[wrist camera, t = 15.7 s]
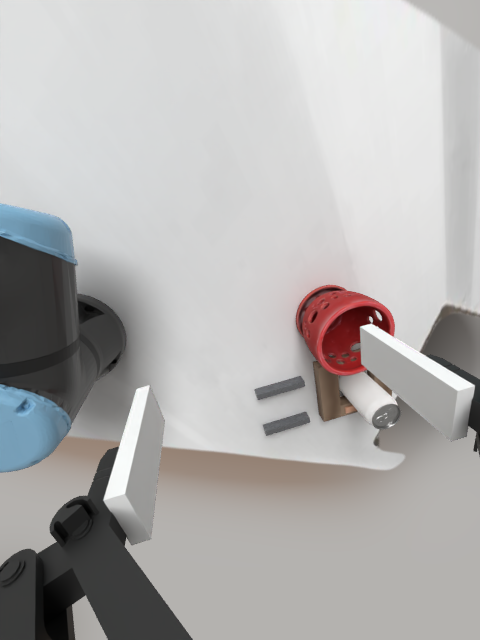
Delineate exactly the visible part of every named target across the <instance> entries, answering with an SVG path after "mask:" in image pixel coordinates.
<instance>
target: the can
mask: <svg viewBox="0 0 480 640" xmlns="http://www.w3.org/2000/svg"><path fill="white" fill-rule="evenodd" d="M338 380H339V390H340V391H341V392H342V393H343V394H344V396H345V397H346V398H347V399H348V400H349V401H350V403H351V404H352V405H353V406H354V407H355V408H356V410H357V411H358V412H359V413H360V414H361V415H362V417H363V418H364V419H365V420H366V421H367V422H368V423H369V424H371V425H373V426H374V427H375V428H377V429H387V428H389V427H392V426H393V425H394V424H395V423H396V422H397V421H398V420H399V418H400V416H401V409H400V407H399V406H398V405H397V402H396V401H395V399H394V398H393V397H391V396H390V395H389V394H388V393H387V392H386V391H385V390H384V389H383V388H382V387H380V386H379V385H378V384H377V383H376V382H375V381H374V380H373V379H371V378H370V377H369V376H368V375H367V374H366V373H365V372H364V371H363V372H360V373H357V374H354V375H348V376H341V375H340V376H339V378H338Z"/></svg>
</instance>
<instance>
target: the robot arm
mask: <svg viewBox="0 0 480 640" xmlns="http://www.w3.org/2000/svg"><path fill="white" fill-rule="evenodd" d="M75 265H77V260H76V259H75V257H74V248H73V240H72V233H71V230H70V228H69V227H68V225H67V224H66V223H65V222H64V221H63V220H61V219H60V218H58V217H56V216H54V215H50V214H46V213H42V212H38V211H33V210H29V209H24V208H20V207H15V206H11V205H6V204H1V203H0V473H1V472H11V471H17V470H21V469H24V468H28V467H30V466H33V465H35V464H37V463H39V462H40V461H41V460H43V459H45V458H46V457H48V456H49V455H50V454H51V453H52V452H53V451H54V450H55V449H56V447H57V446H58V445H59V443H60V442H61V441H62V439H63V438H64V437H65V436H66V435H67V433H68V432H69V430H70V428H71V424H72V422H73V421H74V419H75V417H76V415H77V413H78V411H79V410H80V408H81V406H82V404H83V402H84V400H85V399H86V397H87V395H88V393H89V391H90V390H91V388H92V386H93V384H94V382H95V381H97V380H98V379H100V378H101V377H103V376H104V375H106V374H107V373H109V372H110V371H111V370H112V369H113V368H114V367H115V366H116V365H117V363H118V362H119V360H120V358H121V356H122V354H123V352H124V349H125V344H126V334H125V330H124V327H123V324H122V322H121V321H120V319H119V317H118V316H117V315H116V314H115V312H114V311H113V310H112V309H111V308H109V307H108V306H107V305H106V304H104V303H102V302H101V301H99V300H97V299H95V298H92V297H89V296H86V295H82V294H77V287H76V272H75ZM360 343H361V364H362V365H363V366H364V367H365V368H367V369H368V370H369V371H370V372H371V373H372V374H373V375H375V376H376V377H377V378H378V379H379V380H380V381H382V382H383V383H384V384H385V385H386V386H387V387H388V388H390V389H391V390H392V391H393V392H394V393H395V394H397V395H398V396H399V397H400V398H401V399H402V400H403V401H405V402H406V403H407V404H408V405H409V406H410V407H412V408H413V409H414V410H415V411H416V412H417V413H419V414H420V415H421V416H422V417H423V418H424V419H425V420H426V421H428V422H429V423H430V424H431V425H432V426H433V427H435V428H436V429H437V430H438V431H439V432H440V433H441V434H443V435H444V436H445V437H446V438H447V439H448V440H450V441H454V440H458V439H461V438H464V437H466V436H467V432H468V426H470V427H471V428H472V429H474V430H475V431H476V432H477V433H476V439H475V445H474V451H475V452H477V448H478V451H479V455H480V379H478V378H476V377H474V376H473V375H471V374H469V373H467V372H465V371H464V370H461V369H460V368H458V367H457V366H455V365H452V364H451V363H450V362H448V361H446V360H444V359H443V358H440V357H437V356H433V355H427V356H425V355H423V354H421V353H420V352H418V351H416V350H415V349H413V348H411V347H410V346H408V345H406V344H405V343H403V342H401V341H400V340H398V339H396V338H395V337H393V336H391V335H390V334H388V333H386V332H385V331H383V330H381V329H380V328H378V327H376V326H375V325H373V324H368V325H364V326H361V327H360ZM164 424H165V420H164V418H163V415H162V413H161V410H160V408H159V406H158V403H157V401H156V398H155V396H154V394H153V391H152V389H151V386H150V385H148V386H145V387H141V388H138V389H137V390H136V393H135V396H134V400H133V403H132V406H131V410H130V413H129V416H128V420H127V423H126V426H125V430H124V433H123V436H122V440H121V443H120V446H119V447H116V448H113V449H109V450H108V451H107V452H106V453H105V455H104V456H103V457H102V459H101V460H100V463H99V466H98V468H97V473H96V474H95V476H94V479H93V480H94V481H93V482H92V485H91V488H90V490H89V493H88V496H79V497H76V498H74V499H72V500H70V501H69V502H67V503H66V504H64V505H63V506H62V508H61V509H60V510H58V512H57V513H56V515H55V516H54V518H53V519H52V522H51V524H50V533H51V535H52V536H53V537H54V538H55V539H56V541H57V542H56V543H54V544H52V545H51V546H49V547H48V548H46V549H44V550H43V551H41V552H39V553H38V554H37V553H36V552H35V551H34V550H31V549H25V550H21V551H19V552H18V553H16V554H14V555H13V556H11V557H10V558H9V559H8V560H6V561H5V562H4V563H3V564H2V566H1V567H0V640H75V634H74V623H73V613H72V604H74V603H75V602H76V601H78V600H79V599H81V598H82V597H84V596H85V595H86V596H87V599H88V601H89V602H90V604H91V606H92V608H93V610H94V612H95V614H96V616H97V618H98V620H99V622H100V624H101V626H102V628H103V630H104V632H105V634H106V636H107V638H108V640H193V639H192V638H191V637H190V635H189V634H188V633H187V631H186V630H185V628H184V627H183V626H182V624H181V623H180V622H179V620H178V619H177V618H176V616H175V615H174V613H173V612H172V611H171V610H170V608H169V607H168V605H167V604H166V603H165V601H164V600H163V598H162V597H161V596H160V594H159V593H158V592H157V590H156V589H155V588H154V586H153V585H152V583H151V582H150V581H149V579H148V578H147V577H146V575H145V574H144V572H143V571H142V570H141V568H140V567H139V566H138V565H137V563H136V562H135V560H134V559H133V558H132V556H131V555H130V553H129V552H128V551H127V549H126V548H125V547H124V546H125V541H126V537H127V539H128V540H129V542H130V543H131V545H134V544H137V543H140V542H143V541H146V540H150V539H151V534H152V526H153V517H154V508H155V500H156V492H157V483H158V475H159V466H160V458H161V449H162V441H163V432H164Z"/></svg>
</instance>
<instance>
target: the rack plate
mask: <svg viewBox="0 0 480 640" xmlns="http://www.w3.org/2000/svg"><path fill="white" fill-rule="evenodd" d="M360 350H361V349H358V350H354V351H353V352H359V351H360ZM348 356H349V355H347V354H343V355H342V357H343V358H346V357H348ZM331 358H335V356H333V357H331ZM325 360H326V359H325ZM355 360H356V359H352V360H351V361H355ZM326 361H327V360H326ZM327 362H328V361H327ZM337 363H338V364H344V363H343V362H339V361H338V362H337ZM313 367H314V375H315V384H316V392H317V400H318V409H319V415H320V416H321V418H322V419H323V421H324V422H325V421H328V420H332V419H335V418H338V417H341V416H345V415H348V414H351V413H355V412H358V411H357V410H356V408H355V407H354V406H353V405H352V404H351V403H350V401H349V400H348V399H347V398H346V397H345V396H342V397H340V393H339V380H338V375H336V374H333V373H330V372H328V371H327V370H326V369H324V368H323V367H322V366H321V364H320V363H319V362H318V361H315V362H313ZM367 375H368V376H369V377H370V378H371V379H373V380H374V381H375V382H376V383H377V384H378V385H379V386H380V387H382V388H383V389H384V390H385V391H386V392H387V393H388V394H389V395H390V396H391V397H392V390H391V389H390V388H388V387H387V386H386V385H385V384H384V383H383V382H382V381H380V380H379V379H378V378H377V377H376V376H375V375H373V374H372V373H371V372H370V371H369V370H368V369H367Z"/></svg>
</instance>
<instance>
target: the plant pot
mask: <svg viewBox="0 0 480 640" xmlns="http://www.w3.org/2000/svg"><path fill="white" fill-rule="evenodd" d="M375 310H376V311H378V312H379V313H380V314H381V316H382V321H380V320H379V319H378V317H377V315H376V312H375ZM369 316H371V317H372V318H373V323H371V322H370V321H369ZM296 324H297V328H298V330H299V332H300V334H301V335H302V336H303V337H304V339H305V342H306V344H307V346H308V348H309V349H310V351H311V353H312V354H313V356H314V357H315V358H316V360H317V361H318V362H319V363H320V364H321V366H322V367H323V368H324V369H326V370H327V371H328V372H330V373H333V374H336V375H341V376H348V375H354V374H357V373H360V372H363V371H365V370H367V368H365V367H364V366H363V365H362V364H361V350H360V351H359V352H353V351H352V350H351V347H352V346H353V345H354V344H356V343H360V327H361V326H364V325H368V324H373V325H375V326H376V327H377V326H378V327H379V328H380V329H381V330H383V331H385V332H386V333H388V334H390V335H391V336H393V337H394V331H395V324H394V320H393V316H392V314H391V313H390V311H389V310H388V309H387V308H386V307H385V306H384V305H382V304H381V303H379V302H378V301H376V300H374V299H372V298H370V297H368V296H365V295H363V294H360V293H356V292H351V291H347V290H346V289H344V288H342V287H340V286H336V285H326V286H322V287H319V288H317V289H315V290H313V291H312V292H310V293H309V294H308V295H307V296H306V297H305V298H304V299H303V300H302V302H301V303H300V305H299V307H298V310H297V314H296ZM343 354H347V355H349V356H348V357H346V358H343V357H342V355H343ZM329 355H333V356H335V358H331V357H330V356H329ZM324 358H325V359H326V360H327V361H328V362H327V361H326V360H325V359H324ZM352 359H356V360H355V361H351V360H352ZM338 361H339V362H343V363H344V364H338V363H337V362H338Z"/></svg>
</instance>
